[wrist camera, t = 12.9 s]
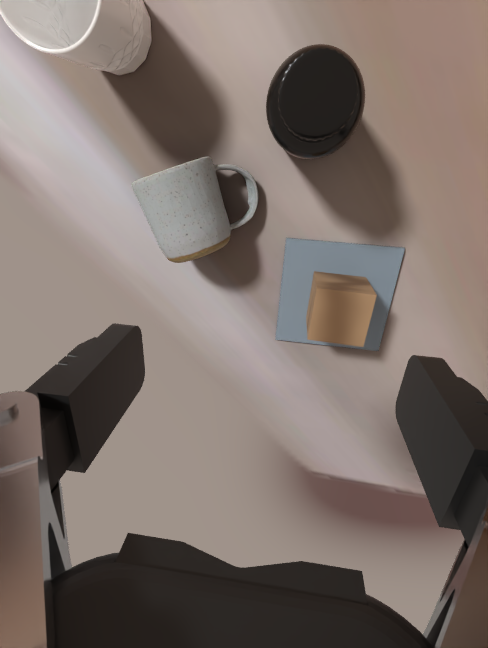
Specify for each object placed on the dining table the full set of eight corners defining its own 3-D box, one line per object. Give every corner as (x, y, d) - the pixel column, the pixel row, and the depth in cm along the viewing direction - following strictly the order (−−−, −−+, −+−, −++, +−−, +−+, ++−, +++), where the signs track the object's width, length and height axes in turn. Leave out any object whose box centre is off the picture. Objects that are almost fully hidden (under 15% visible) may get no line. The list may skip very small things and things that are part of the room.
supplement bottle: (328, 54, 29) (347, -7, 19) (361, 132, 32) (394, 117, 21) (259, 103, 32) (240, 74, 21) (293, 173, 34) (292, 179, 23)
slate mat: (403, 247, 35) (404, 248, 35) (377, 349, 40) (378, 351, 40) (286, 237, 36) (286, 238, 36) (275, 337, 42) (275, 339, 41)
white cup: (161, 84, 32) (108, 54, 23) (81, 81, 33) (0, 52, 24) (156, -30, 29) (92, -116, 20) (67, -30, 29) (-33, -113, 20)
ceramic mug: (179, 254, 39) (155, 274, 32) (148, 179, 36) (115, 183, 29) (269, 225, 36) (264, 240, 29) (244, 142, 33) (233, 137, 26)
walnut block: (366, 277, 37) (376, 295, 32) (354, 323, 39) (363, 347, 34) (314, 271, 37) (316, 288, 32) (306, 317, 40) (307, 339, 35)
